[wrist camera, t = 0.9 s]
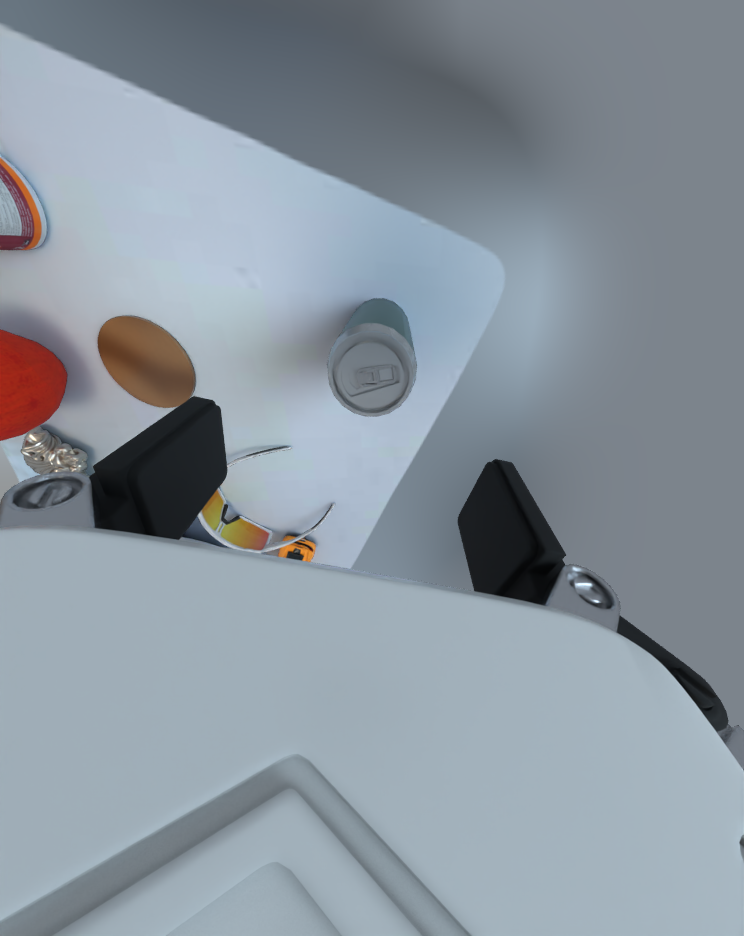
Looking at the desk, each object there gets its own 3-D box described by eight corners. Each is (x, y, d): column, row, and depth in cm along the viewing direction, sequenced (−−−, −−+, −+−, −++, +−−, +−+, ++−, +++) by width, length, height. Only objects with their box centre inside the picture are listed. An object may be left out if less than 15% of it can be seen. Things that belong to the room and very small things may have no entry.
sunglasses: (187, 475, 38) (167, 500, 34) (284, 424, 35) (275, 444, 31) (258, 541, 45) (249, 568, 41) (343, 503, 42) (343, 528, 38)
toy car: (270, 571, 50) (263, 589, 47) (283, 527, 43) (276, 546, 40) (303, 579, 51) (298, 598, 48) (321, 538, 44) (316, 557, 41)
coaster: (86, 305, 27) (82, 305, 26) (187, 327, 27) (185, 328, 27) (117, 396, 32) (114, 398, 32) (201, 414, 33) (199, 415, 32)
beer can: (406, 291, 24) (413, 318, 15) (412, 356, 28) (421, 414, 18) (343, 303, 25) (312, 335, 16) (356, 365, 28) (336, 424, 19)
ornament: (116, 473, 39) (93, 491, 36) (73, 479, 40) (48, 497, 37) (69, 419, 34) (38, 435, 31) (22, 427, 35) (-12, 443, 32)
